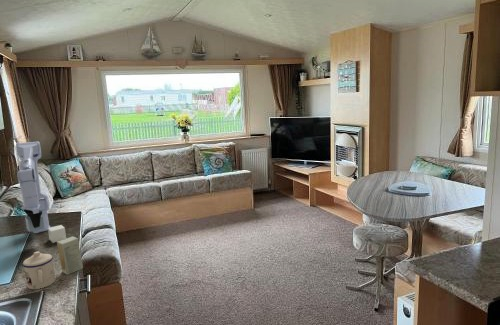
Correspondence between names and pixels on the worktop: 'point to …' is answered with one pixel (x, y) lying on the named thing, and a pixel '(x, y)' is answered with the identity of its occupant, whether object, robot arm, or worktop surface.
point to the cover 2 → (57, 233)
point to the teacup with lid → (39, 270)
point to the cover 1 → (30, 225)
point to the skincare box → (70, 255)
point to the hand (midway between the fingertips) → (35, 225)
